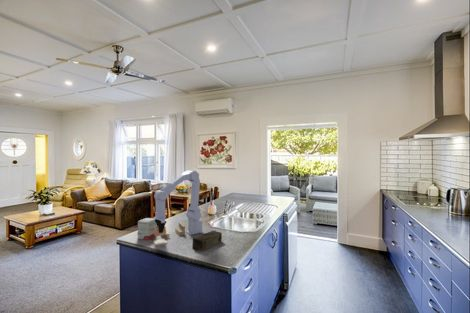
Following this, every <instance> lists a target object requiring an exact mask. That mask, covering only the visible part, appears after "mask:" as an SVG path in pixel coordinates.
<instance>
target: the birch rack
mask: <svg viewBox="0 0 470 313" xmlns="http://www.w3.org/2000/svg"><path fill="white" fill-rule="evenodd" d="M174 230H175V231H174V232H175V233H176V234H177V235H178V236H179V237H182V236H185V235H186V225H185V224H183V223H182V222H180V221H179V222H178V227H175V229H174ZM170 235H171V234H170V233H169V232H168V230H167V229H166V235H161V237H162V239H165V240H166V239H169V238H170V237H171V236H170Z"/></svg>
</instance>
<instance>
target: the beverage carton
mask: <svg viewBox="0 0 470 313" xmlns="http://www.w3.org/2000/svg"><path fill="white" fill-rule="evenodd" d="M222 238H223V236H222V232H220V231H216V230H211V231H208V232H206V233H205V232H204V233H203V234H201V235H198V236H195V237H194V238H192V246H191V247H192V249H193V250H195V251H198V252H203V251H205V250H207V249H209V248H211V247H214V246H215V245H218V244H220V243H222V241H223V240H222Z"/></svg>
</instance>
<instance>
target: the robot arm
mask: <svg viewBox="0 0 470 313" xmlns="http://www.w3.org/2000/svg"><path fill="white" fill-rule="evenodd" d="M185 181H189V183H191V192H190V203H189V204H190V206H189V207H187V212H186V218H187V220H188V230H185V233H188V235H190V236H191V235H196V234H197V235H198V234H202V233H203V234H204V232H203V220H202V219H201V217H202V213H201V208H200V207H199V199H200V187H201V186H200V185H201V180H200V174H199V172H198V171H197V170H189V169H188V170H187V169H186V170H184V172H182V173H181V174H180V175H179V176H178V177H177V178H176V179H175V180H173V181H172V182H167V183H166V184H165V186H163V187H161V188H160V189H159V190H156V191H155V193H154V194H153V197H154V199H155V216H153V219H155V222H156V226H158V228H159V233H163V230H164V226H165V227H166V224H167V221H166V218H167V217H166V200H167V199H168V196H169V195H170V194H171V193H172V192H174V191H175V190H176V187H177V186H179V185H180V184H181V183H183V182H185Z"/></svg>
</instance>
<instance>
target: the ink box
mask: <svg viewBox="0 0 470 313" xmlns="http://www.w3.org/2000/svg"><path fill="white" fill-rule="evenodd" d="M154 226H157V225H156V222H155V219H154V218H151V217H145V218H143V219H142V218H141V219H140V220H137V239H138V240H144V241H150V240H152V239H153V238H155V237H156V236H155V235H154Z"/></svg>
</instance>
